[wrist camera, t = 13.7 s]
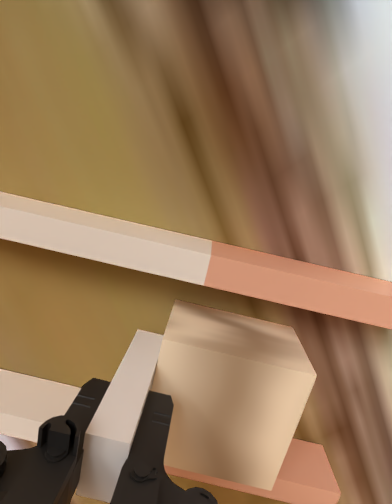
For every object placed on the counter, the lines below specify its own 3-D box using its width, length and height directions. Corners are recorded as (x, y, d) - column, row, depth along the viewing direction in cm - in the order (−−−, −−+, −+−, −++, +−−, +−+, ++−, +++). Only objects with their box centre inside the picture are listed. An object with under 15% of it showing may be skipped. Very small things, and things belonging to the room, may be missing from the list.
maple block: (154, 394, 19) (136, 458, 15) (175, 297, 17) (162, 338, 13) (258, 419, 19) (271, 490, 15) (291, 325, 17) (317, 375, 13)
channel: (-67, 371, 20) (-116, 406, 17) (-72, 174, 16) (-134, 175, 13) (314, 462, 19) (331, 513, 16) (391, 282, 16) (430, 306, 13)
